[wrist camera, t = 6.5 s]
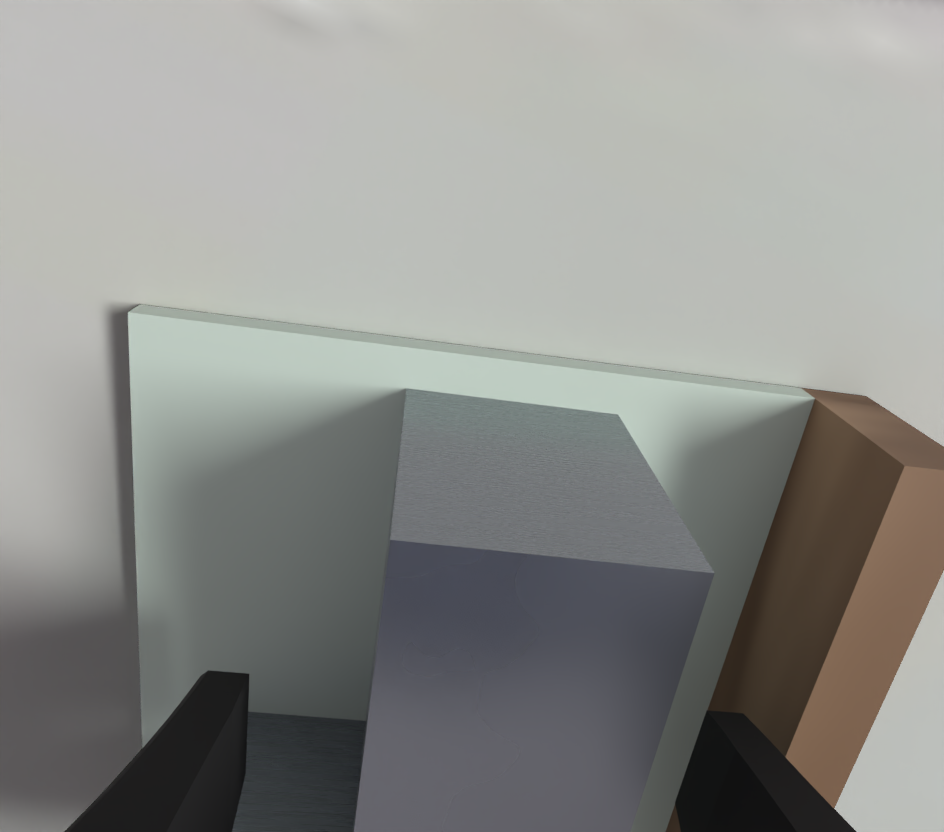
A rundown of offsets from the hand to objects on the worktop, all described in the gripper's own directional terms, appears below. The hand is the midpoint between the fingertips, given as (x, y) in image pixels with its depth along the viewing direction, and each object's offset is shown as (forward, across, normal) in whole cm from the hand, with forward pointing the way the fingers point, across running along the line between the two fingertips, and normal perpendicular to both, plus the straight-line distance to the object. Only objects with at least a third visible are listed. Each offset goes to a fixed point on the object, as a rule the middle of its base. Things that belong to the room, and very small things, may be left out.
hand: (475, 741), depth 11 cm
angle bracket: (+2, +1, 0) cm, 3 cm away
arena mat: (+3, 0, +2) cm, 3 cm away
